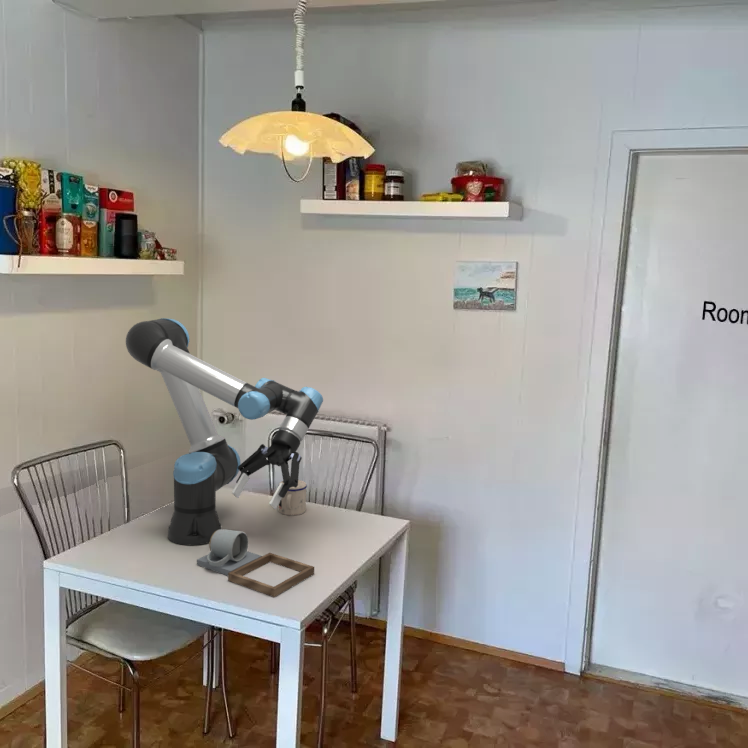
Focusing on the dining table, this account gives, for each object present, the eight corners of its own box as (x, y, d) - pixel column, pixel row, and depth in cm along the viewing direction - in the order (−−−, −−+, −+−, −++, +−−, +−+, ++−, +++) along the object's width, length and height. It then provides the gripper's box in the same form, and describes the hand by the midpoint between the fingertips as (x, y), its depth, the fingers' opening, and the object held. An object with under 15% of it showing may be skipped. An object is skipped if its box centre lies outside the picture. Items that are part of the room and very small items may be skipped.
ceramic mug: (223, 549, 198) (223, 522, 197) (249, 555, 195) (249, 528, 193) (199, 564, 188) (198, 536, 187) (225, 570, 185) (225, 542, 184)
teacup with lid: (280, 505, 239) (281, 471, 237) (308, 507, 238) (309, 472, 236) (273, 518, 227) (273, 482, 225) (302, 520, 226) (302, 484, 224)
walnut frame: (228, 580, 183) (228, 573, 182) (269, 559, 196) (269, 552, 196) (274, 597, 175) (274, 589, 175) (314, 574, 188) (314, 566, 188)
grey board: (196, 564, 191) (196, 559, 191) (228, 550, 201) (228, 545, 201) (230, 576, 185) (230, 571, 185) (261, 561, 195) (261, 555, 195)
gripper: (330, 451, 203) (295, 517, 193) (262, 435, 216) (226, 497, 206) (318, 436, 198) (282, 504, 188) (250, 421, 211) (213, 484, 201)
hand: (253, 500), depth 197 cm, fingers open, 13 cm apart
